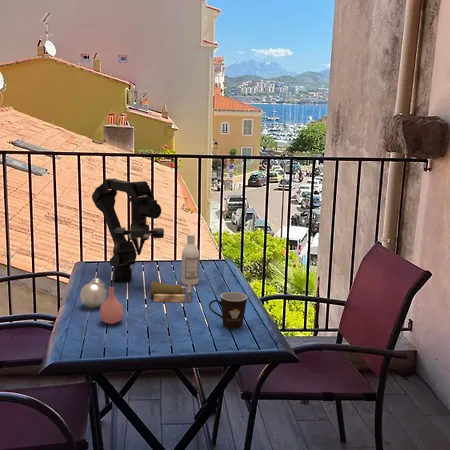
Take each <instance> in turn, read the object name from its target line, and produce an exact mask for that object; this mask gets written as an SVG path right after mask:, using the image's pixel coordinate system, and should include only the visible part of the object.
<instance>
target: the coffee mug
mask: <svg viewBox="0 0 450 450" xmlns="http://www.w3.org/2000/svg"><path fill="white" fill-rule="evenodd" d="M247 301H248V295H246V294H245V293H242V292H237V291H236V292H235V291H230V292H223V293H221V295H220V300H218V299H214V300H211V301H210V302H209V303H208V308H209V309H210V311H211V312H212V313H213V314H214V315H216V316H218V317H220V318H221V319H222V326H223V328H225V327H226V328H225V329H228V328H229V329H228V330H239V329H241V328H243V326H244V325H243V324H244V319H245V313H246V308H247V307H246V306H247ZM213 303H218V304H219V306H220V307H221V314H219V313H218V312H216V311H215V310H214V309H212V307H211V305H212V304H213ZM240 327H241V328H240ZM238 328H239V329H238Z"/></svg>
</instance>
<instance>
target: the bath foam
mask: <svg viewBox="0 0 450 450" xmlns="http://www.w3.org/2000/svg"><path fill="white" fill-rule="evenodd" d="M195 237H196V234H194V233H187V239H186V241H187V242H186V245H184V247H183V249H182V252H181V271H180V272H181V278H180V279H181V280H180V281H181V284H182V285H184V286H188V284H189V283H191V286H195V285H198V284H199V277H200V251H199V249H198V247H197V244H195V242H196V238H195Z"/></svg>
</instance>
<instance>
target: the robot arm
mask: <svg viewBox="0 0 450 450" xmlns="http://www.w3.org/2000/svg"><path fill="white" fill-rule="evenodd" d="M118 192H123V193H126V196H128V197H130V198H128V199H127V202H129V203H130V216H131V217H130V220H131V221H130V226H129V229H126V227H122V226H121V223H120V220H119V218H118V214H117V212H116V210H115V206H116V196H117V195H118ZM91 199H92V202H93V203H94V206H95V208H97V209H98V210H99V211H100V212H101V213H102V215H103V218H104V220H105V223H106V226H107V228H108V231H109V234H110V236H111V239H112V241H113V250H112V256H111V258H110V259H109V265H110V266H111V267H113V276H114V277H113V281H112V282H113V283H130V282H131V280H132V279H133V267H131V266H132V265H134V266H135V264H136V261H137V260H136V259H137V256H141V253H142V250H143V247H144V244H145V242H146V241H148V240H149V238H150V236H152V237H153V238H155V239H163V238H164V237H165V230H164V228H163V227H154V228H153V230H150V224H147V223H148V221H147V218H149V219H153V220H156V219H159V217H161V215H162V207H161V205H160V204H159V203H158V201H157V199H155V196H154V194H153V191H152V189H151V187H150V186H149V183H148V182H147V181H146V180H144V181H127V180H121V179H118V178H114V177H113V178H106V179H105V180H103V182H102V183H101V184H100V185H98V187H96V188H95V189H94V191H93V192H92V195H91ZM126 236H128V240H127V238H126Z"/></svg>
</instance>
